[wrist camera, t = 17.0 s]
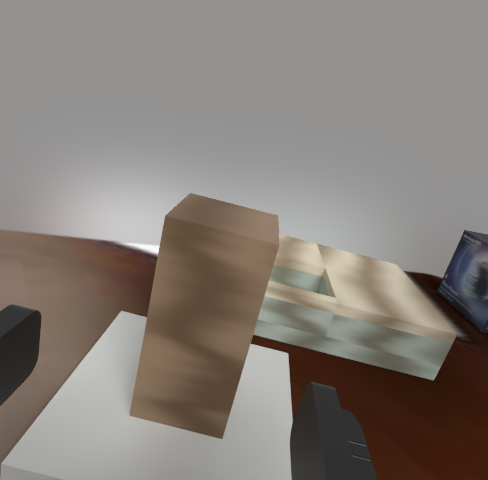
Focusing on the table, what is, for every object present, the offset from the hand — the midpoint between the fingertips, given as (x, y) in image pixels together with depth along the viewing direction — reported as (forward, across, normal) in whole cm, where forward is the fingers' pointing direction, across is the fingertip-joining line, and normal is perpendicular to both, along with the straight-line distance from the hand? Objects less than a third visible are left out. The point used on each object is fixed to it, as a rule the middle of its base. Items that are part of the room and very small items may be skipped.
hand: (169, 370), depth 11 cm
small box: (+39, -35, +11) cm, 54 cm away
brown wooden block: (+10, 0, +10) cm, 14 cm away
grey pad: (+10, 0, +11) cm, 15 cm away
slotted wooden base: (+28, -10, +11) cm, 32 cm away
